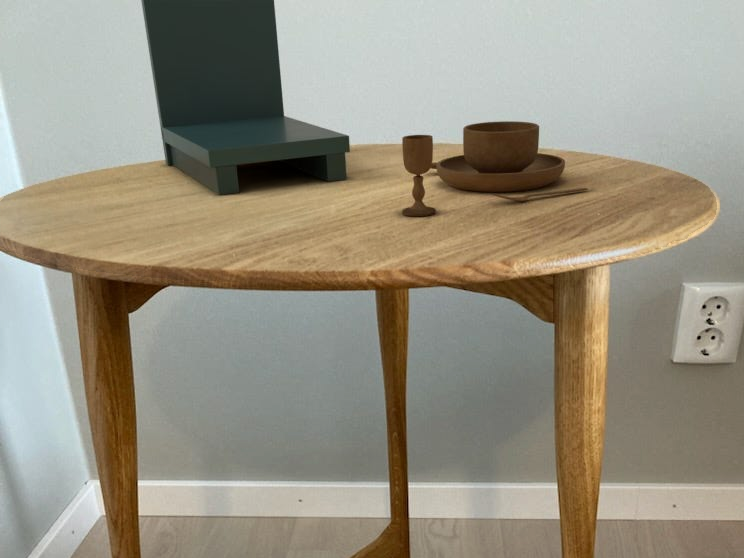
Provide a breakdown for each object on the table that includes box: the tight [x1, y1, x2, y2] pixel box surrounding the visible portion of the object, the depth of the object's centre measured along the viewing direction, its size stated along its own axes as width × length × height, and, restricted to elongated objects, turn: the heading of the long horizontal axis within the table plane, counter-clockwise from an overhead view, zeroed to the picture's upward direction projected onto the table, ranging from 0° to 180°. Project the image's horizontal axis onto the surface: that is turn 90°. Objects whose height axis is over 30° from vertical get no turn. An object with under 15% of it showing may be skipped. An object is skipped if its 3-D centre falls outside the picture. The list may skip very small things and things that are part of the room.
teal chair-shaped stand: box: [140, 0, 351, 196], centre depth 91 cm, size 21×14×22 cm, turn 24°
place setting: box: [401, 120, 589, 217], centre depth 83 cm, size 18×20×6 cm
